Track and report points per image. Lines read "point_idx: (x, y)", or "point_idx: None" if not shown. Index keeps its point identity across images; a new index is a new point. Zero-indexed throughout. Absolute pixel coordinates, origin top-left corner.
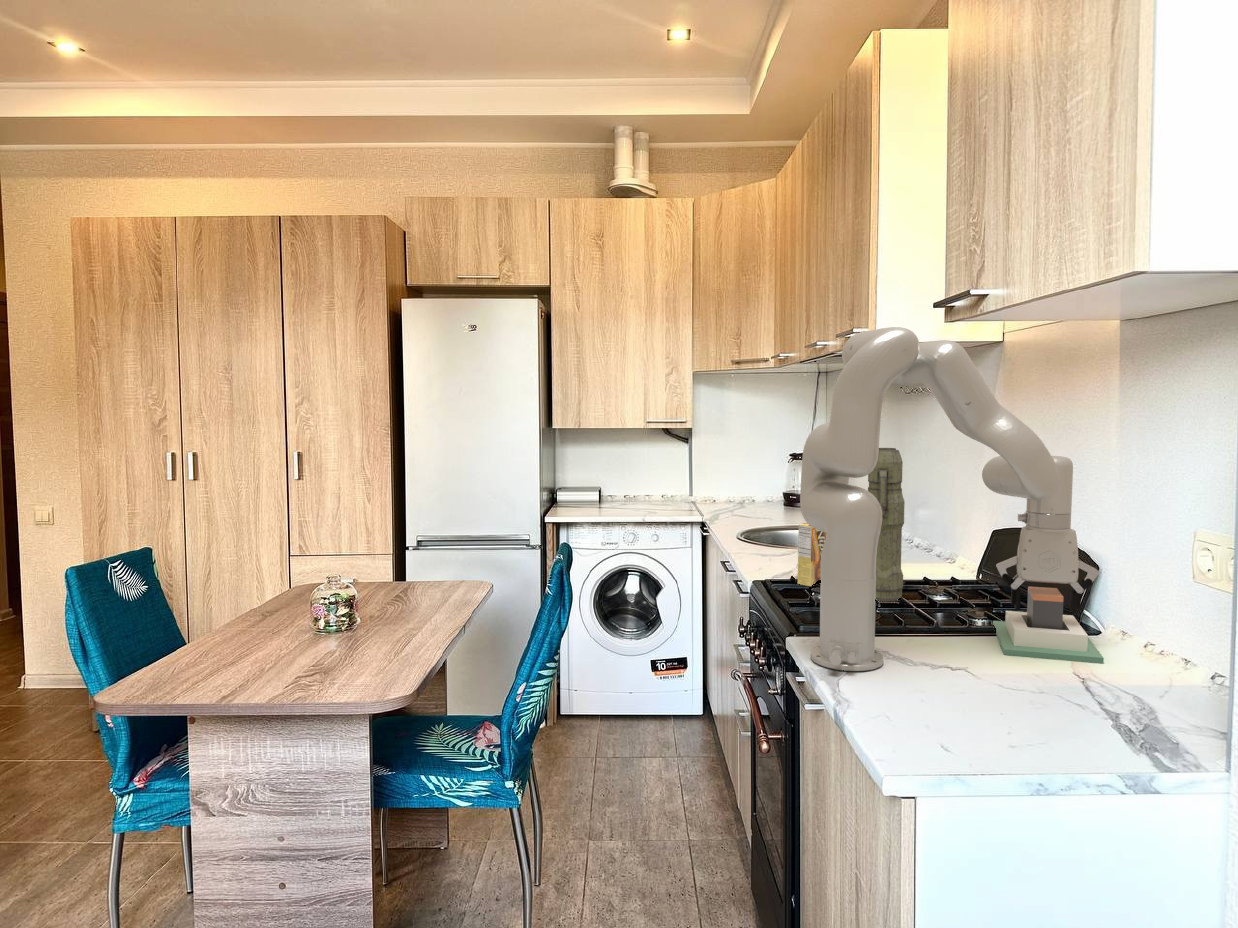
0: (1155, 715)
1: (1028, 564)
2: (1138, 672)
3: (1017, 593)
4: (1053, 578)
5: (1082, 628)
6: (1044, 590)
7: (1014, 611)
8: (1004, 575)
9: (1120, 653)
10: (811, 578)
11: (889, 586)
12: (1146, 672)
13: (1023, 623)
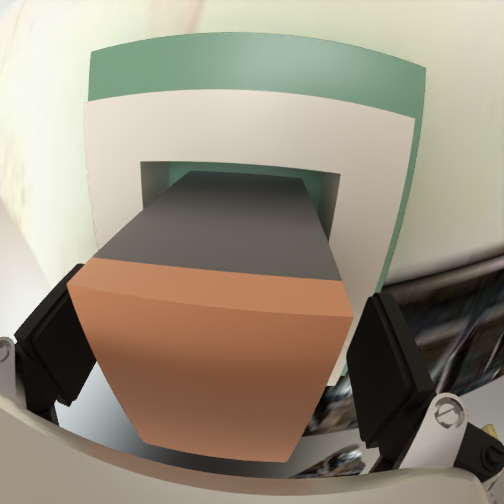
0: None
1: None
2: (50, 25)
3: (422, 365)
4: (81, 494)
5: (92, 213)
6: (208, 426)
7: None
8: (501, 462)
9: (51, 182)
10: (489, 432)
11: None
12: (36, 37)
13: (339, 241)
